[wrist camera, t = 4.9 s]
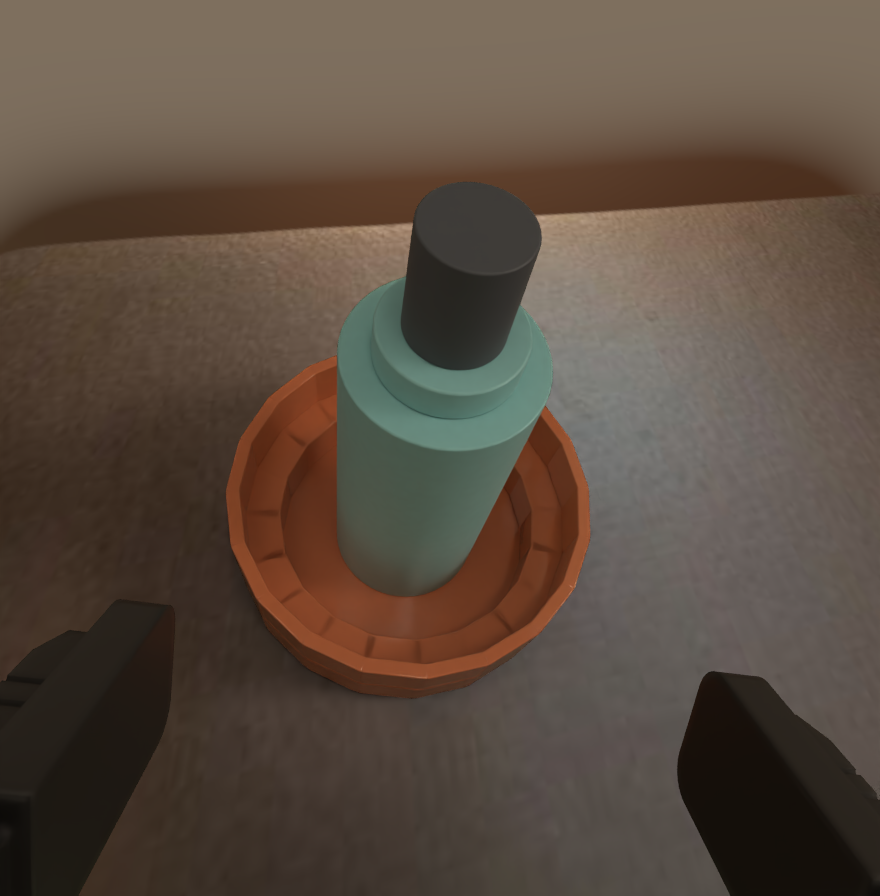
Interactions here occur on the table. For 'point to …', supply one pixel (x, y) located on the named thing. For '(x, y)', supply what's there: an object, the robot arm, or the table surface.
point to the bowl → (382, 615)
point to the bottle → (438, 390)
